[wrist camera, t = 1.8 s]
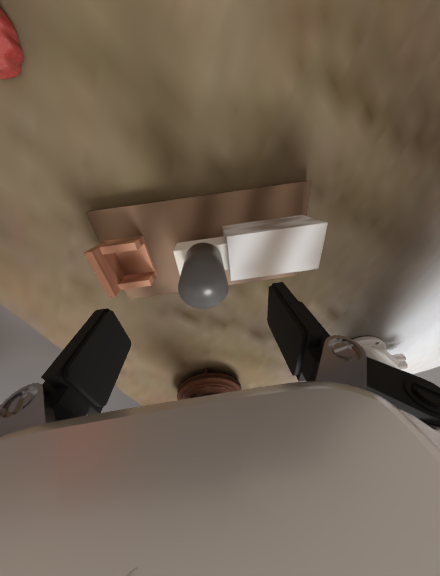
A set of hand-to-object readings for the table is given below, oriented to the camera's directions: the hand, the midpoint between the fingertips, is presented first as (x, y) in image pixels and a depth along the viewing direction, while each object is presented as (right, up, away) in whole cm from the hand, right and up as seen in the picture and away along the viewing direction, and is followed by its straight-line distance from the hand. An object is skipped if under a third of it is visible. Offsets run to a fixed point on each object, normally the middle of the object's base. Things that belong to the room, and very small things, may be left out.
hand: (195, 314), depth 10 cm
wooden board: (0, +7, +13) cm, 15 cm away
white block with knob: (+4, +7, +11) cm, 13 cm away
